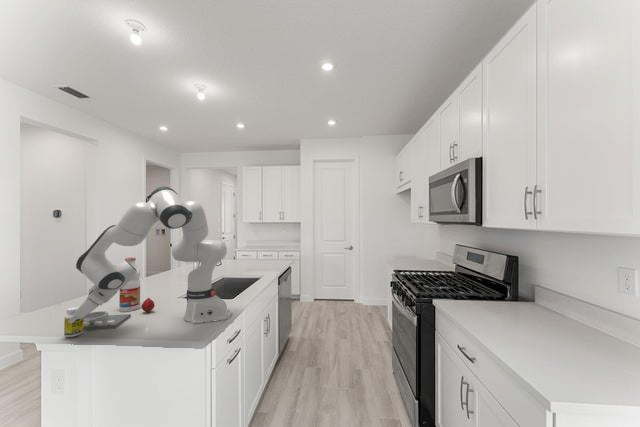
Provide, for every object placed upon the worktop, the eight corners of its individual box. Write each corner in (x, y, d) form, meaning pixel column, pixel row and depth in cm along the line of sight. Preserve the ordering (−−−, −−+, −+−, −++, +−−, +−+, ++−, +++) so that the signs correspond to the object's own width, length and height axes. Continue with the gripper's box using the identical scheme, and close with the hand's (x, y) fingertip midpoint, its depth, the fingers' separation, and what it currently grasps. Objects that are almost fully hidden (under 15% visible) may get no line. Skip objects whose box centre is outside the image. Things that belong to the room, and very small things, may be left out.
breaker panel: (130, 317, 145) (130, 311, 145) (115, 328, 130) (115, 322, 130) (90, 319, 141) (90, 313, 141) (70, 331, 127) (70, 325, 127)
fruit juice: (143, 306, 161) (144, 256, 162) (132, 312, 152) (132, 259, 152) (127, 306, 162) (128, 256, 162) (115, 311, 152) (115, 259, 153)
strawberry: (140, 315, 148) (140, 299, 148) (143, 311, 153) (143, 296, 153) (152, 314, 149) (152, 298, 149) (155, 310, 155) (155, 295, 155)
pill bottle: (72, 338, 118) (72, 311, 118) (60, 336, 119) (60, 310, 119) (87, 332, 124) (87, 306, 124) (75, 330, 125) (75, 305, 125)
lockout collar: (111, 315, 142) (111, 310, 142) (100, 323, 132) (100, 318, 132) (88, 317, 140) (88, 312, 140) (75, 325, 130) (75, 319, 130)
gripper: (99, 283, 134) (72, 307, 129) (89, 294, 116) (57, 323, 111) (111, 292, 136) (84, 316, 131) (103, 303, 118) (72, 332, 114)
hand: (72, 319), depth 121 cm, fingers closed on pill bottle, 6 cm apart
